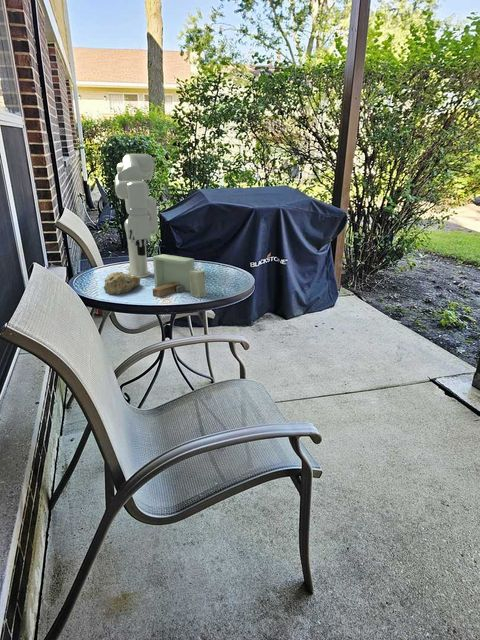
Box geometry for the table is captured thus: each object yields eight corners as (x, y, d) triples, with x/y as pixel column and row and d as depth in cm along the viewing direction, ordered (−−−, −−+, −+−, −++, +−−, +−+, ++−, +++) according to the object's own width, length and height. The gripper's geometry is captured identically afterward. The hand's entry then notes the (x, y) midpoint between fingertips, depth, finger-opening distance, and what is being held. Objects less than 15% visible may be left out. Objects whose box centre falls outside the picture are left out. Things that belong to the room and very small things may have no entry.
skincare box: (206, 296, 197) (205, 271, 193) (199, 298, 194) (198, 272, 190) (196, 293, 201) (196, 268, 197) (190, 295, 198) (189, 270, 194)
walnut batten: (153, 296, 197) (152, 288, 196) (173, 288, 209) (173, 281, 208) (159, 297, 195) (159, 290, 194) (179, 289, 207) (179, 282, 206)
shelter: (155, 288, 209) (152, 256, 204) (164, 285, 215) (162, 254, 209) (186, 294, 200) (184, 261, 194) (195, 291, 205) (194, 258, 199)
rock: (116, 284, 219) (119, 266, 216) (141, 292, 217) (145, 274, 214) (96, 291, 199) (100, 271, 196) (124, 300, 198) (128, 280, 195)
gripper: (144, 210, 184) (147, 251, 191) (118, 213, 172) (122, 257, 179) (156, 211, 181) (159, 253, 187) (131, 214, 169) (135, 259, 175)
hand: (141, 255), depth 183 cm, fingers closed
